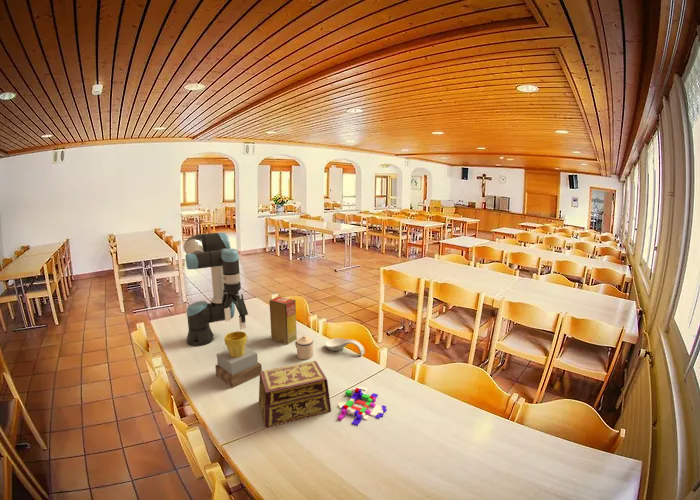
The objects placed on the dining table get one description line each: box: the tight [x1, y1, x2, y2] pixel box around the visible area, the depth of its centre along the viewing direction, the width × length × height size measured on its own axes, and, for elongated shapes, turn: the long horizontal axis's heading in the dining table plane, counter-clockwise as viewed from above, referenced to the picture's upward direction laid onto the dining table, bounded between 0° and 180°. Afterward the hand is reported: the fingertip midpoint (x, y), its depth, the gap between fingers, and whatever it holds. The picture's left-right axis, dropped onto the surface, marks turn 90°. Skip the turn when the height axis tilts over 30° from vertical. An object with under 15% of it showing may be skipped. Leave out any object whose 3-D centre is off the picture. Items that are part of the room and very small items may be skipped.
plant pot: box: [223, 330, 248, 357], centre depth 180 cm, size 10×10×10 cm
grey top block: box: [216, 345, 259, 375], centre depth 182 cm, size 14×14×6 cm
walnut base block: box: [214, 362, 263, 389], centre depth 184 cm, size 16×16×6 cm
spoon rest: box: [324, 337, 366, 357], centre depth 208 cm, size 24×12×7 cm, turn 63°
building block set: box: [337, 385, 388, 427], centre depth 158 cm, size 25×20×4 cm
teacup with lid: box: [294, 335, 314, 360], centre depth 202 cm, size 12×9×12 cm
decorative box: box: [258, 360, 332, 428], centre depth 157 cm, size 28×19×15 cm
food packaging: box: [269, 295, 298, 345], centre depth 220 cm, size 13×9×25 cm
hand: (235, 324), depth 178 cm, fingers open, 13 cm apart
